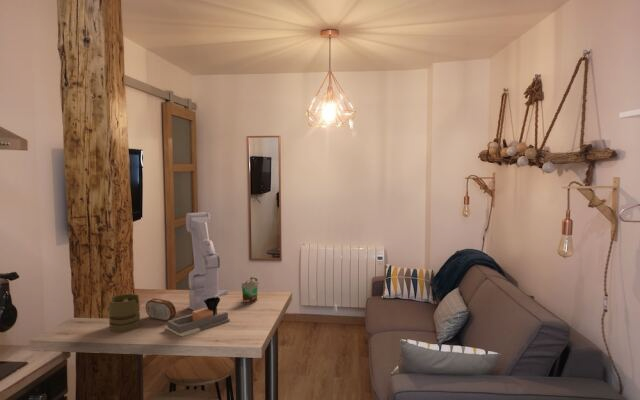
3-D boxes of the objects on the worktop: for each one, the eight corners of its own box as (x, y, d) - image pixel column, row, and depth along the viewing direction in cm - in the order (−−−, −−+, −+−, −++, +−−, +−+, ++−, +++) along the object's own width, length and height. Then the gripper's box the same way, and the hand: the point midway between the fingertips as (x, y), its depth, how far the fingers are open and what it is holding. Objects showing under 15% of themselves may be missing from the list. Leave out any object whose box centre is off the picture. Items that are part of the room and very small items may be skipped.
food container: (254, 305, 198) (253, 284, 197) (241, 304, 199) (241, 283, 199) (262, 297, 210) (262, 277, 209) (251, 296, 211) (250, 276, 211)
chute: (166, 328, 170) (165, 320, 170) (213, 314, 186) (213, 306, 186) (181, 336, 162) (180, 327, 161) (229, 321, 178) (229, 313, 177)
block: (192, 320, 175) (192, 311, 175) (205, 317, 179) (205, 307, 179) (200, 324, 171) (200, 314, 171) (213, 320, 175) (213, 311, 175)
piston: (141, 293, 178) (136, 301, 167) (142, 320, 179) (137, 331, 168) (112, 295, 175) (104, 303, 164) (113, 323, 176) (106, 333, 165)
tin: (176, 320, 179) (176, 301, 178) (171, 323, 176) (170, 303, 175) (150, 315, 185) (149, 296, 185) (144, 317, 182) (143, 298, 182)
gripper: (201, 289, 169) (202, 322, 170) (231, 281, 180) (232, 312, 181) (191, 285, 174) (192, 317, 175) (222, 278, 184) (222, 309, 186)
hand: (212, 315), depth 178 cm, fingers closed
